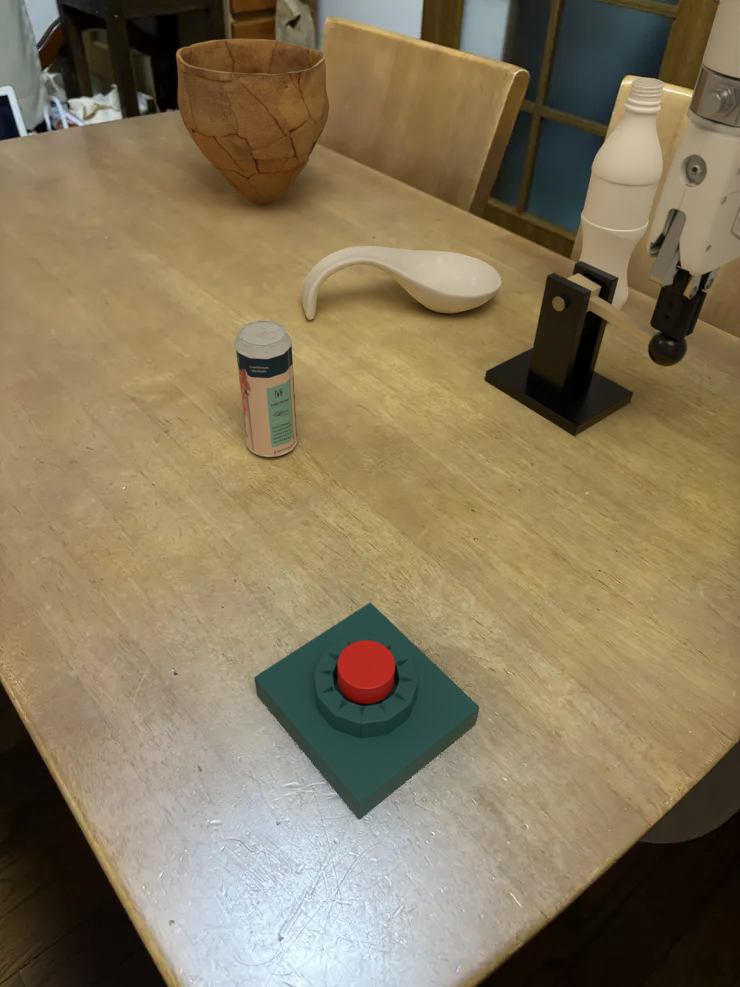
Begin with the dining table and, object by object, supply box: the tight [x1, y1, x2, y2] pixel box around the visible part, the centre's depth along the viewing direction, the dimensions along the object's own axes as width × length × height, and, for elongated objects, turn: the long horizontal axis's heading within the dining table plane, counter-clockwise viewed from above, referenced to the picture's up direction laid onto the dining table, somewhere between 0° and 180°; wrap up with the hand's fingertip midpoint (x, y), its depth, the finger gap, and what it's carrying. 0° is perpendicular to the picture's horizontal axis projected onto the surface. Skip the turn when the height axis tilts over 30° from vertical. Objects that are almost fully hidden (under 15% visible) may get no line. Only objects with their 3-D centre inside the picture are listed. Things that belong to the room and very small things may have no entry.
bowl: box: [175, 38, 330, 205], centre depth 105 cm, size 21×20×20 cm
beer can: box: [234, 320, 298, 458], centre depth 66 cm, size 5×5×12 cm
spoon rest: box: [301, 245, 503, 321], centre depth 88 cm, size 24×12×7 cm, turn 102°
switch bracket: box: [484, 261, 634, 437], centre depth 73 cm, size 12×9×13 cm
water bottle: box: [578, 77, 665, 311], centre depth 81 cm, size 7×7×25 cm
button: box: [337, 640, 395, 704], centre depth 47 cm, size 4×4×2 cm
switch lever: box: [566, 273, 688, 368], centre depth 68 cm, size 13×3×3 cm, turn 40°
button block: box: [253, 602, 480, 820], centre depth 49 cm, size 11×10×4 cm
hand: (670, 330), depth 65 cm, fingers closed
